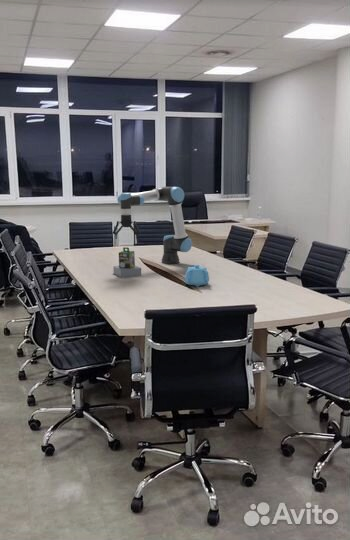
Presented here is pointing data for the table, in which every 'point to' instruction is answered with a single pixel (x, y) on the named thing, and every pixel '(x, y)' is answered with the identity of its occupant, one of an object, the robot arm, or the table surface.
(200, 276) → the decorative pot
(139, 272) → the grey base brick
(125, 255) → the chalk box
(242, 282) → the table surface
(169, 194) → the robot arm
